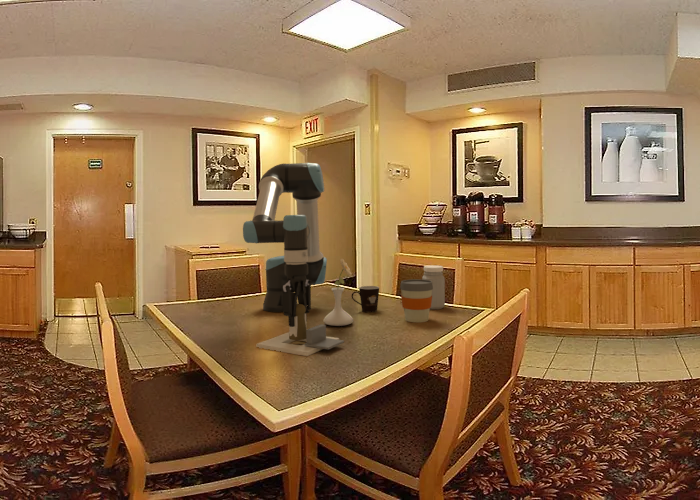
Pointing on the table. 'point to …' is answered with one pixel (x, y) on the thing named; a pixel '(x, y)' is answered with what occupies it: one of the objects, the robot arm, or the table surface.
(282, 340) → the socket plate
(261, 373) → the table surface
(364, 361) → the table surface
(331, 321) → the flower in vase
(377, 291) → the coffee mug
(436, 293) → the jar
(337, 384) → the table surface
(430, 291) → the reusable coffee cup
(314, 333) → the grey bookend
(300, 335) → the olive brown pawn
